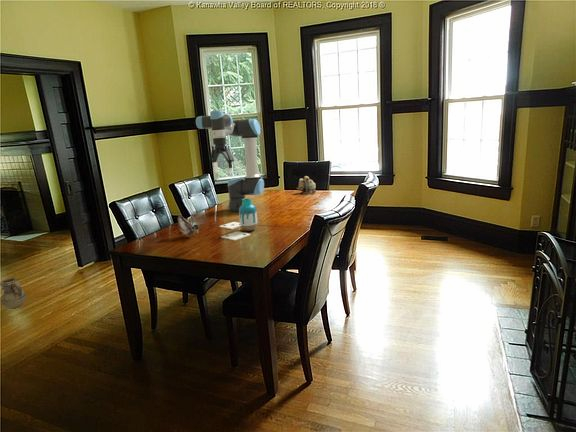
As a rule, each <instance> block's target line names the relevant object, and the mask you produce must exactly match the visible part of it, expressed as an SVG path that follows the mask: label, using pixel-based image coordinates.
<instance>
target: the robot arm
mask: <svg viewBox="0 0 576 432" xmlns="http://www.w3.org/2000/svg"><path fill="white" fill-rule="evenodd" d="M195 125H196V128H198V129H199V130H200V129H201V130H204V129H207V130H211V133H212V142H213V144H212V146H211V152H210V158H209V161H210V162H211V163H212V168H213V174H218V173H219V167H218V166H219V165H218V161H217V160H218V158H219V155H223V158H224V159H225V160H226V161H227V162H226V165H227V166H226V167H227V169H226V170H227V175H229V174H230V175H231V174H233V162H234V161H235V160H234V156H233V154H232V152H231V150H230V146H229V145H226V144H227V139H226V135H228V136H232V137H241V140H242V141H243V144H244V145H243V146H244V156H245V157H244V158H245V171H246V175H245V176H244V177H236V178H232V179H229V180H228V181H227V189H228V190H227V191H228V198H229V200H228V205H227V206H228V207H227V208H228V211H230V212H239V208H240V206H242V199H246V196H259V195H260V196H261V195H262V193H264V189H265V180H264V179H263V178H262V176H261V175H260V174H259V162H258V148H257V140H258V139H259V136H260V135H261V132H262V131H261V125H260V123H259V121H258V120H257V119H256V118H246V119H233V118H232V116H231V115H230V114H227V113H224V111H223V110H220V109H219V110H211V111H210V112H209V115H200V116H197V117H196V119H195Z"/></svg>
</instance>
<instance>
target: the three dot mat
mask: <svg viewBox="0 0 576 432" xmlns="http://www.w3.org/2000/svg"><path fill="white" fill-rule="evenodd" d="M240 227H241V224H240V221H239V222H237V221H232V222H231V221H230V222H228V223H225V224H222V225H219V228H222V229H228V230H234V229H238V228H240ZM241 228H242V227H241Z"/></svg>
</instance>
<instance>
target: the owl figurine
mask: <svg viewBox="0 0 576 432" xmlns="http://www.w3.org/2000/svg"><path fill="white" fill-rule="evenodd" d="M316 187H317V186H316V183H315V182H314V181H313V179H311V178H310V177H309V176H307V175H305V176H304V177H303V178H299V180H298V186H297V187H296V190H297V191H300V192H299V194H300V193H303V194H310V195H314V194H315V193H316V192H317V190H316ZM313 193H314V194H313ZM303 194H302V195H303Z"/></svg>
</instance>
